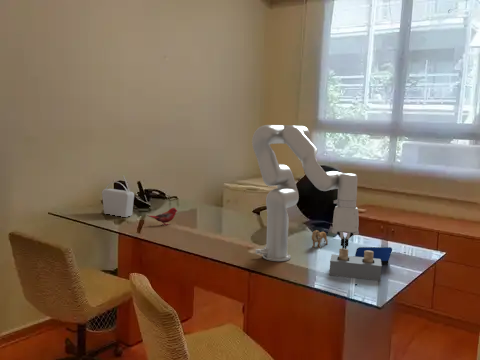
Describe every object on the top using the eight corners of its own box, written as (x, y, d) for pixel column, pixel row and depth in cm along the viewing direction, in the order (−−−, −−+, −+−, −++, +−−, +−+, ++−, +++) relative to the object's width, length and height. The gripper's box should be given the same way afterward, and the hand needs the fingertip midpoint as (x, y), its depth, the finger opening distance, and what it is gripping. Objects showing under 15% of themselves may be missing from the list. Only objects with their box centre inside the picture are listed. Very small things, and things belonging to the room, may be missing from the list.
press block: (329, 275, 198) (330, 260, 197) (331, 267, 208) (331, 254, 207) (380, 280, 193) (381, 265, 192) (379, 272, 203) (380, 258, 202)
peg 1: (338, 264, 200) (339, 250, 199) (338, 261, 203) (339, 247, 202) (347, 265, 199) (348, 250, 198) (347, 262, 202) (348, 248, 202)
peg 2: (363, 266, 197) (364, 252, 197) (363, 264, 201) (364, 250, 200) (372, 267, 197) (373, 253, 196) (372, 265, 200) (373, 250, 199)
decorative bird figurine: (178, 225, 279) (178, 207, 277) (147, 226, 272) (147, 209, 271) (177, 224, 281) (177, 207, 280) (146, 225, 275) (146, 208, 273)
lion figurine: (319, 250, 235) (320, 232, 234) (308, 248, 238) (309, 230, 236) (329, 243, 248) (330, 226, 247) (319, 242, 250) (320, 224, 249)
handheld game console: (381, 259, 224) (382, 239, 222) (391, 268, 210) (393, 247, 209) (347, 258, 223) (349, 239, 222) (356, 267, 210) (357, 247, 208)
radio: (136, 216, 298) (136, 176, 295) (126, 218, 291) (126, 177, 288) (111, 211, 310) (111, 172, 307) (101, 213, 303) (100, 174, 300)
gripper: (327, 204, 196) (325, 248, 198) (365, 206, 192) (363, 251, 195) (328, 201, 203) (326, 244, 206) (365, 203, 200) (363, 247, 202)
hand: (344, 247), depth 200 cm, fingers closed
